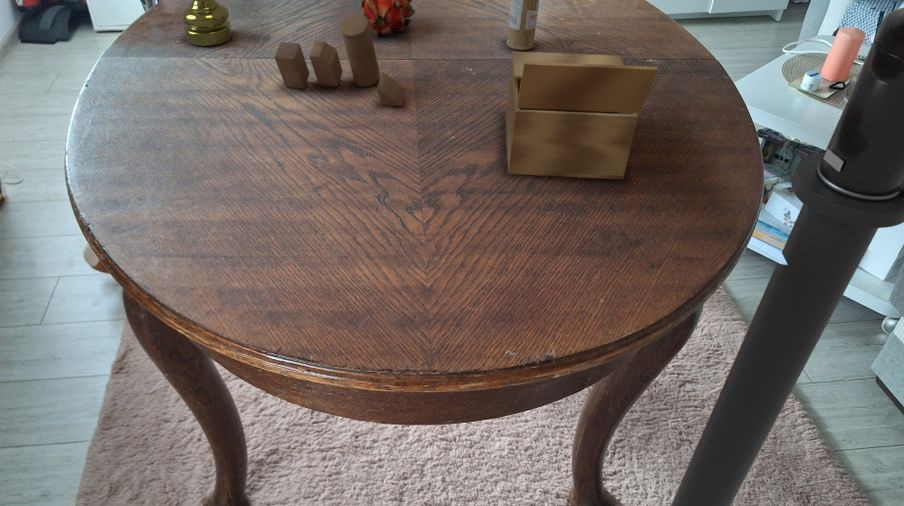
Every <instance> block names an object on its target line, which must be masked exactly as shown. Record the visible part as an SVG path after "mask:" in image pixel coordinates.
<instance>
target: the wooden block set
mask: <svg viewBox="0 0 904 506" xmlns="http://www.w3.org/2000/svg"><path fill="white" fill-rule="evenodd" d="M340 32H341V35H342V39H343V40H342V41H343V44H344V46H345V47H344V48H345V50H346V55H347V58H348V62H349V66H350V69H351V73H352V77H353V81H354V82H355V84H356V85H358V86H359V87H362V88H367V87H371V86H373V85H375V84H376V82H377V81H378V80H379V82H378V85H377V92H378V97H379V101H380V105H381V106H391V107H403V102H404V98H405V95H406V91H407V90H406V88H404V87H403V86H402V85H401V84H400V83H398V82H397V81H395V80H394V79H393V78H392V77H390V76H389V75H388V74H386V73H385V72H383V71H382V72H381V75H380V69H379V63H378V58H377V55H376V54H377V53H376V49H375V45H374V41H373V36H372V32H371V26H370V25H369V22H368V19H367V18H366V17H365V16H364V15H363V13H359V12H355V13H351V14H349V15H347V16H345V17H344V19H342V21H341V24H340ZM309 59H310V63H311V66H312V69H313V70H314V75H315V78H316V80H317V84H318V86H321V87H322V86H323V87H333V88H337V87H339V86H340V82H341V78H342V75H343V72H344V71H343V68H342V65H341V62H340V57H339V54H338V50H337V48H335V47H334V46H332V45H331V44H329V43H328V42H326V41H324V40H314V41H313V44H312V47H311V51H310V53H309ZM274 61H275V63H276V66H277V69H278V71H279V73H280V76H281V79H282V81H283V84H284V86H285V87H286V88H292V89H293V88H294V89H305V88H306V85H307V82H308V79H309V77H310V70H309V67H308V64H307V61H306V59H305V56H304V52H303V49H302V46H301V44H300V43H295V42H282V41H281V42H279V44H278V47H277V50H276V52H275V55H274Z"/></svg>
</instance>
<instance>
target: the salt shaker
mask: <svg viewBox="0 0 904 506" xmlns="http://www.w3.org/2000/svg"><path fill="white" fill-rule="evenodd" d="M180 14H181V15H180V16H181V19H182V21H183V23H184V25H183V30H184V34H185V39H186V41H187V42H188V43H189V44H192V45H194V46H199V47H212V46H218V45H221V44H224V43H226V42H228V41H229V40H230V39H231V38H232V29H231V22H230V21H229V20H228V19H229V14H230V13H229V10H228V7H226V6H225V5H224V4H222V3H219V2H218V0H191V1H190V2H189V3H188V5H187V6H185V8H183V9H182V11H181V13H180Z"/></svg>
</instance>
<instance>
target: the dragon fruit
mask: <svg viewBox="0 0 904 506" xmlns="http://www.w3.org/2000/svg"><path fill="white" fill-rule="evenodd" d="M412 1H413V0H362V1H361V4H360V10H361V12H362V14H363V15H364V16H365V17H366V18H367V19H368V22H369V27H370V29H371V30H372V32H373V34H374V35H375V36H376V37H380V36H382V35H383V36H384V35H385V34H389V35H391V34H392V33H393V32H394V31H395V32H396V33H400V32H402V31H403V30H404V29H405V28H406V27H409V26H410V24H411V23H412V21H413V19H412V17H413V16H414V15H415V13H416V10H415V9H414V8H413V7H414V6H413V5H412V4H411V3H412Z"/></svg>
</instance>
